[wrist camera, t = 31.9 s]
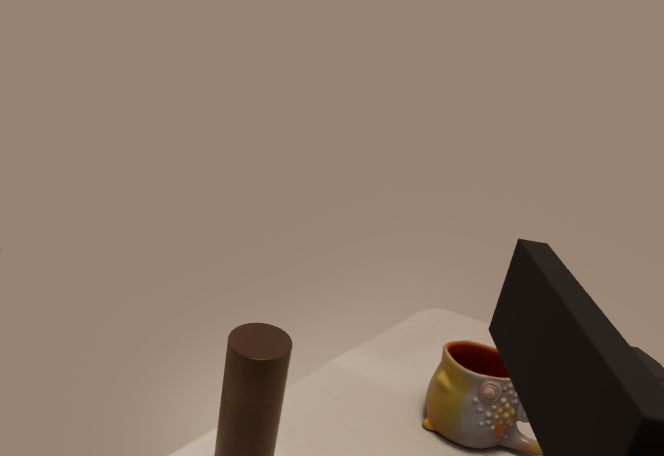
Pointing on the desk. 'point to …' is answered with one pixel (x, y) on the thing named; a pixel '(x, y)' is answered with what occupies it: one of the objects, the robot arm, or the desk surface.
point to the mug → (476, 400)
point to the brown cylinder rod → (253, 390)
